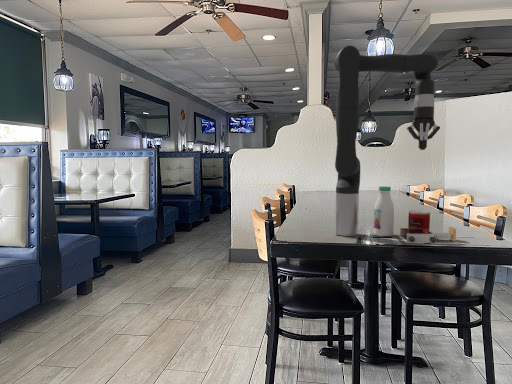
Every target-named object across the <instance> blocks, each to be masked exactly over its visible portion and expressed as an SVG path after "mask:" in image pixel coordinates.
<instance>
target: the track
mask: <svg viewBox="0 0 512 384" xmlns="http://www.w3.org/2000/svg"><path fill="white" fill-rule="evenodd" d="M397 236H398V237H399V238H400V239H401V240H402V241H403V242H404V241H405V242H404V243H406V244H424V243H431V245H432V244H433V245H458V244H465V246H490V244H489V243H465V242H464V243H462V242H460V243H459V242H457V243H456V242H455V243H454V242H437V243H436V242H434V243H433V242H407V238H405V237H404V236H401V235H399V234H397ZM456 238H465V239H466V238H470V239H471V238H472V239H474V236H464V235H463V236H462V235H461V236H459V235H456Z"/></svg>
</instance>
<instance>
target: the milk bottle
mask: <svg viewBox="0 0 512 384" xmlns="http://www.w3.org/2000/svg"><path fill="white" fill-rule="evenodd" d="M378 192H379V193H378V197H377V199H376V200H375V204H374V209H373V210H374V211H373V212H374V213H373V234H374V235H375V236H380V237H392V236H393V235H394V228H395V227H394V223H395V221H394V219H395V206H394V202H393V200H392V197H391V186H388V185H387V186H378Z"/></svg>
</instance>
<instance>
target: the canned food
mask: <svg viewBox="0 0 512 384" xmlns="http://www.w3.org/2000/svg"><path fill="white" fill-rule="evenodd" d="M407 221H408V224H407V225H408V226H407V228H408V233H419V234H429V230H430V226H431V225H430V224H431V223H430V222H431V212H430V210H420V209H418V210H417V209H412V210H408V220H407Z"/></svg>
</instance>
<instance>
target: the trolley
mask: <svg viewBox="0 0 512 384" xmlns="http://www.w3.org/2000/svg"><path fill="white" fill-rule="evenodd" d="M398 235H401V236H402V237H406V240H407V242H430V243H438V239H444V240H445V239H448V240H451V241H453V242H456V240H457V239H456V238H457V237H456V236H457V229H456V228H454V227H453V226H448V232H446V231H445V232H444V231H432V230H430V229H429V234H419V233H408V227H399V234H398Z"/></svg>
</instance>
